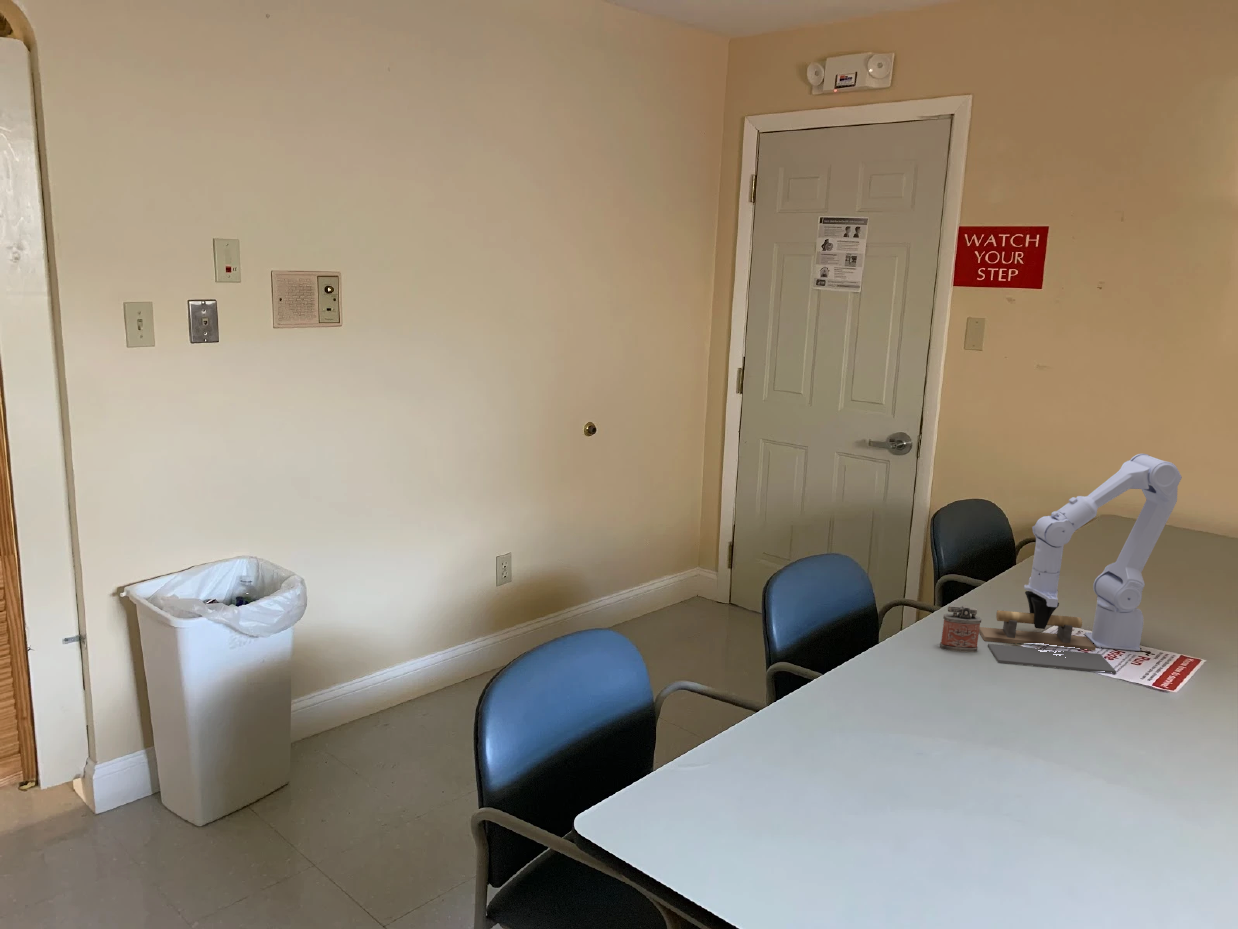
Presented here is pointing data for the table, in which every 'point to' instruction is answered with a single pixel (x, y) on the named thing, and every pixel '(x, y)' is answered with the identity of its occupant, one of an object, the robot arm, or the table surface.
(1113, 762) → the table surface
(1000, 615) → the rail
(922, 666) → the table surface
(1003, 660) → the mat
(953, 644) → the lighter
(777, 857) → the table surface
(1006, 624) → the hook stand
